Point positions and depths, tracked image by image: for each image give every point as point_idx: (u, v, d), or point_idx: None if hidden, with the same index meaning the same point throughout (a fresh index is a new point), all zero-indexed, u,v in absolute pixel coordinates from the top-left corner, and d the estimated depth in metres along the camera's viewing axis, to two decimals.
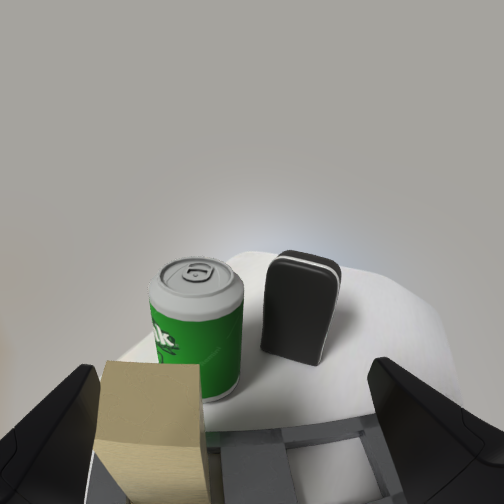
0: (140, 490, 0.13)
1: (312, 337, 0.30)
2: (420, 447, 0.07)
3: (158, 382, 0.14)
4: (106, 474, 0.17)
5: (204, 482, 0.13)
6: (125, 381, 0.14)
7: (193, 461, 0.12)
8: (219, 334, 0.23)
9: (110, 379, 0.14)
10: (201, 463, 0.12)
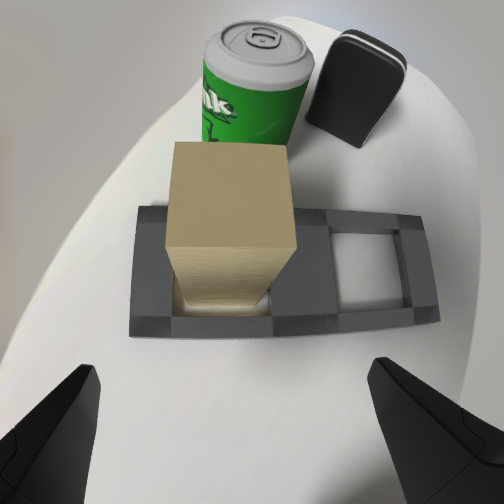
0: (199, 286, 0.18)
1: (364, 120, 0.26)
2: (420, 447, 0.07)
3: (242, 166, 0.13)
4: (149, 264, 0.22)
5: (274, 277, 0.16)
6: (202, 167, 0.13)
7: (279, 259, 0.14)
8: (284, 105, 0.19)
9: (183, 165, 0.13)
10: (285, 261, 0.14)
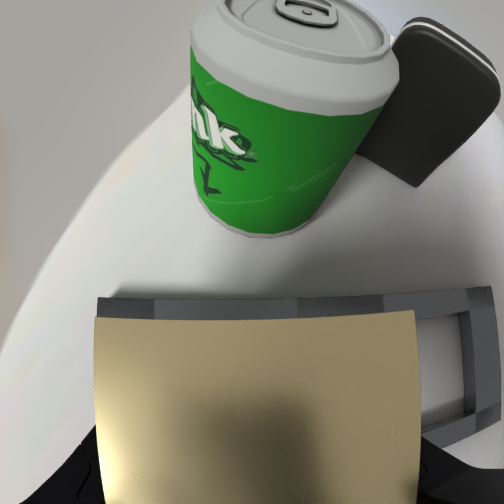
0: None
1: (432, 152, 0.17)
2: None
3: (306, 409, 0.04)
4: None
5: None
6: (185, 418, 0.04)
7: None
8: (348, 141, 0.10)
9: (127, 411, 0.04)
10: None
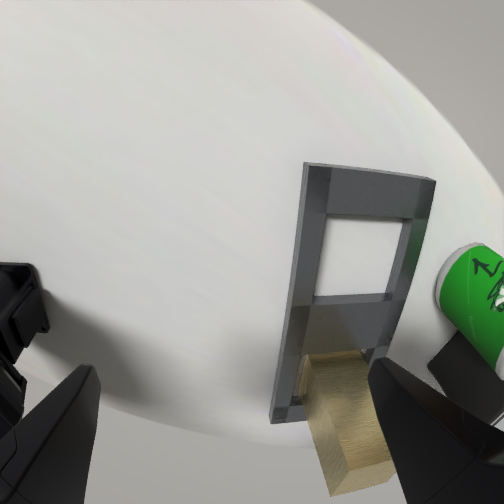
0: (322, 411, 0.22)
1: (449, 382, 0.26)
2: (420, 447, 0.07)
3: (382, 476, 0.18)
4: (380, 191, 0.20)
5: (318, 454, 0.22)
6: (389, 466, 0.17)
7: (327, 480, 0.19)
8: (485, 351, 0.18)
9: None
10: (325, 479, 0.19)
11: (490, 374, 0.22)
